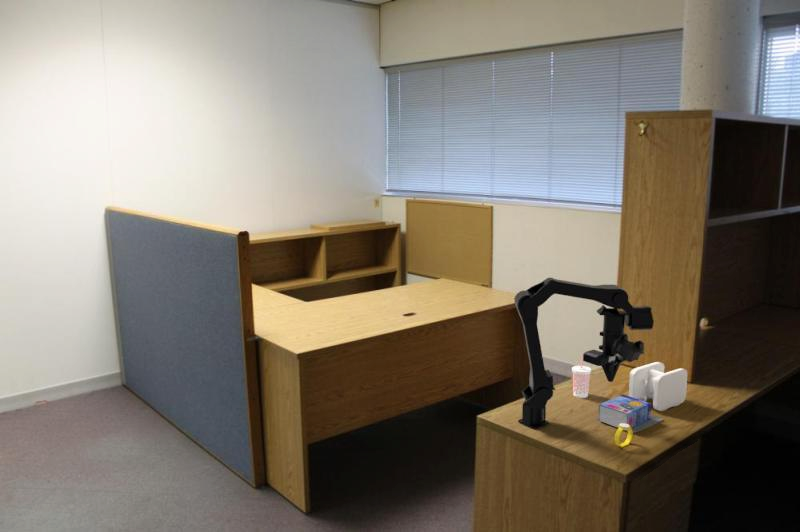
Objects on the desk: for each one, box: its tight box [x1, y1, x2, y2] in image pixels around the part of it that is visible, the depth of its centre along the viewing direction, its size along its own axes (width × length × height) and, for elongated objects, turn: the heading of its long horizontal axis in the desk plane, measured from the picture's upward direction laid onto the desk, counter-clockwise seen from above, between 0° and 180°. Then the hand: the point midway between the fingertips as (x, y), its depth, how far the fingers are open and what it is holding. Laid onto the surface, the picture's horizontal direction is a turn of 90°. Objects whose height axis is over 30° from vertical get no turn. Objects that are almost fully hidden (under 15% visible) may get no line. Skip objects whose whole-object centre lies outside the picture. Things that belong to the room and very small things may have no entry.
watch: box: [614, 423, 634, 448], centre depth 181 cm, size 6×3×6 cm, turn 124°
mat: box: [597, 413, 665, 434], centre depth 197 cm, size 15×12×1 cm
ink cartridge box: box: [598, 394, 652, 432], centre depth 196 cm, size 10×6×14 cm
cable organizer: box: [628, 361, 688, 412], centre depth 208 cm, size 15×11×12 cm
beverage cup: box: [571, 353, 592, 399], centre depth 216 cm, size 6×6×14 cm
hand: (610, 381), depth 194 cm, fingers closed
